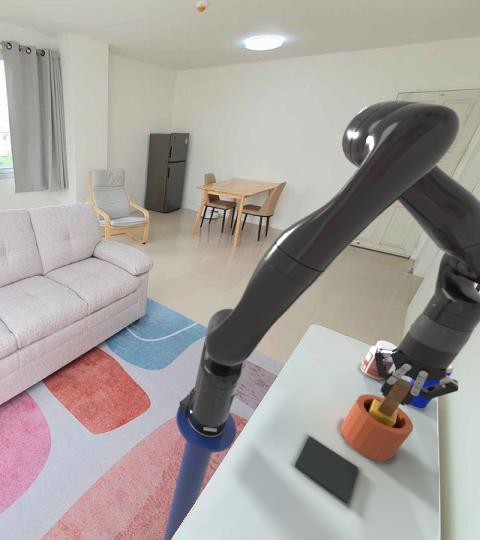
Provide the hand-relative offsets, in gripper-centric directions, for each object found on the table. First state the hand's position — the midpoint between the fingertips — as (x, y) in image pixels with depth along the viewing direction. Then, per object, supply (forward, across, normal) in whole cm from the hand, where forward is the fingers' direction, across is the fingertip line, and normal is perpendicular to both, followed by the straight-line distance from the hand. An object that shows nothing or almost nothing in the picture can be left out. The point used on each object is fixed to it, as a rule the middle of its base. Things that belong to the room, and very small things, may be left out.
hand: (393, 398), depth 66 cm
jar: (+15, 0, 0) cm, 15 cm away
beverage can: (+15, +7, +24) cm, 29 cm away
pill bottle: (+15, -3, +29) cm, 33 cm away
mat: (+15, -5, -15) cm, 22 cm away
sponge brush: (+9, 0, 0) cm, 9 cm away
